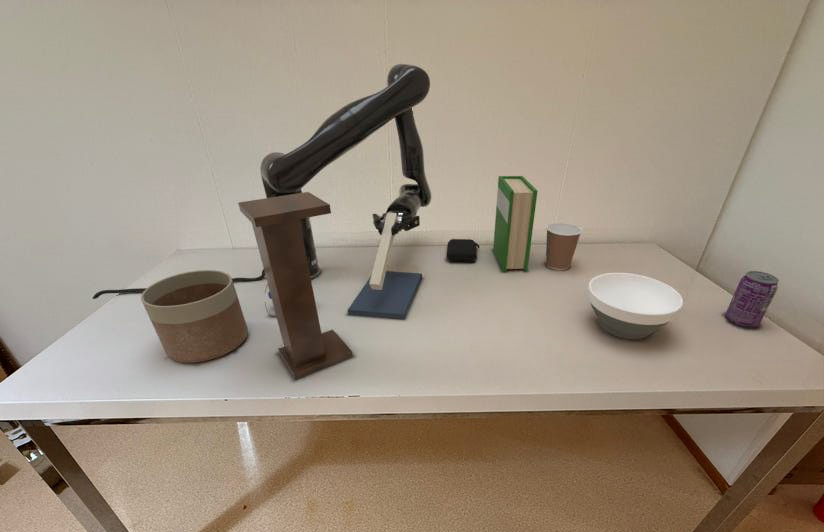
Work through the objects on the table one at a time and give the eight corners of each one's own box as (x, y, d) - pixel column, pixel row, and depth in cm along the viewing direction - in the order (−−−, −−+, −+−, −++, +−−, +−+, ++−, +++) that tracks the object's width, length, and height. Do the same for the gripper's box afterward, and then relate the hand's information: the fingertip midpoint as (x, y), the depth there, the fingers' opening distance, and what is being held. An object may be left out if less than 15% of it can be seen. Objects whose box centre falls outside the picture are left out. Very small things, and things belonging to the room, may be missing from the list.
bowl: (689, 347, 85) (704, 310, 80) (606, 356, 82) (617, 318, 77) (638, 303, 101) (648, 269, 96) (567, 308, 99) (574, 275, 94)
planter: (173, 331, 89) (149, 277, 82) (249, 317, 94) (233, 265, 87) (160, 373, 76) (131, 313, 69) (248, 354, 82) (230, 297, 75)
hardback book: (527, 271, 117) (537, 190, 105) (502, 272, 117) (510, 190, 104) (514, 248, 132) (522, 175, 120) (493, 249, 132) (498, 176, 119)
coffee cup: (548, 256, 127) (554, 220, 121) (579, 264, 122) (587, 227, 116) (535, 266, 120) (540, 229, 114) (567, 275, 115) (574, 237, 109)
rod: (381, 290, 93) (379, 284, 91) (371, 289, 93) (369, 283, 91) (398, 219, 103) (396, 213, 101) (389, 219, 103) (387, 212, 101)
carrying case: (480, 264, 121) (478, 246, 134) (480, 255, 120) (479, 237, 132) (446, 263, 122) (448, 245, 134) (446, 254, 120) (448, 237, 133)
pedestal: (295, 379, 75) (253, 217, 58) (279, 354, 82) (237, 202, 65) (352, 356, 81) (329, 204, 65) (333, 334, 88) (308, 191, 71)
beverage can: (753, 316, 96) (775, 272, 90) (762, 331, 91) (786, 285, 84) (720, 311, 98) (739, 268, 92) (728, 325, 93) (748, 280, 86)
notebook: (348, 314, 95) (347, 309, 95) (375, 274, 114) (375, 270, 114) (404, 319, 94) (403, 314, 93) (422, 278, 113) (422, 273, 112)
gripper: (378, 196, 111) (358, 215, 97) (426, 198, 110) (413, 218, 95) (380, 222, 115) (361, 244, 101) (427, 224, 114) (414, 247, 99)
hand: (386, 231), depth 98 cm, fingers closed on rod, 2 cm apart
